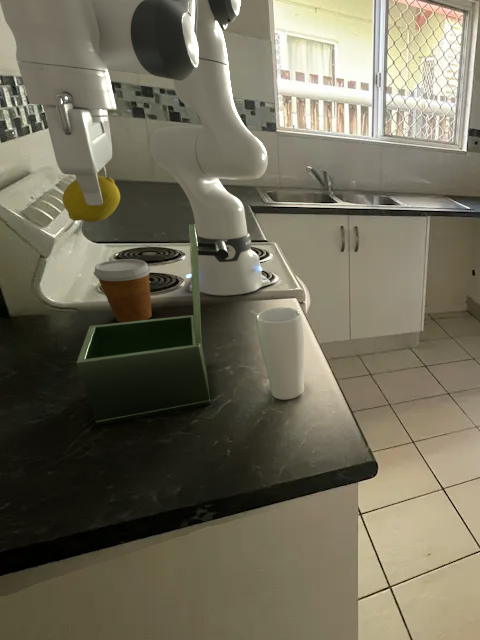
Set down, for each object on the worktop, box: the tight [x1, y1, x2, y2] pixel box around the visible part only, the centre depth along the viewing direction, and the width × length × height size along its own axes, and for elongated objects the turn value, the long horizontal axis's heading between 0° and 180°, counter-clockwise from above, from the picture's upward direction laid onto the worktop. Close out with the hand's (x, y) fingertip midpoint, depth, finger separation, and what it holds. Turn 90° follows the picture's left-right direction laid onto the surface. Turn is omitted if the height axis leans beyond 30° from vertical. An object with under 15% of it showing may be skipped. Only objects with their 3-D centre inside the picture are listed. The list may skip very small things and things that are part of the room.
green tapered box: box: [76, 314, 211, 427], centre depth 77 cm, size 15×14×11 cm
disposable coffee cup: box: [93, 258, 153, 323], centre depth 102 cm, size 10×10×12 cm
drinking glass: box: [255, 307, 305, 401], centre depth 80 cm, size 7×7×15 cm
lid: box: [188, 224, 228, 343], centre depth 77 cm, size 16×14×5 cm
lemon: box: [62, 175, 121, 223], centre depth 67 cm, size 6×6×8 cm
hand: (98, 200), depth 68 cm, fingers closed on lemon, 5 cm apart
